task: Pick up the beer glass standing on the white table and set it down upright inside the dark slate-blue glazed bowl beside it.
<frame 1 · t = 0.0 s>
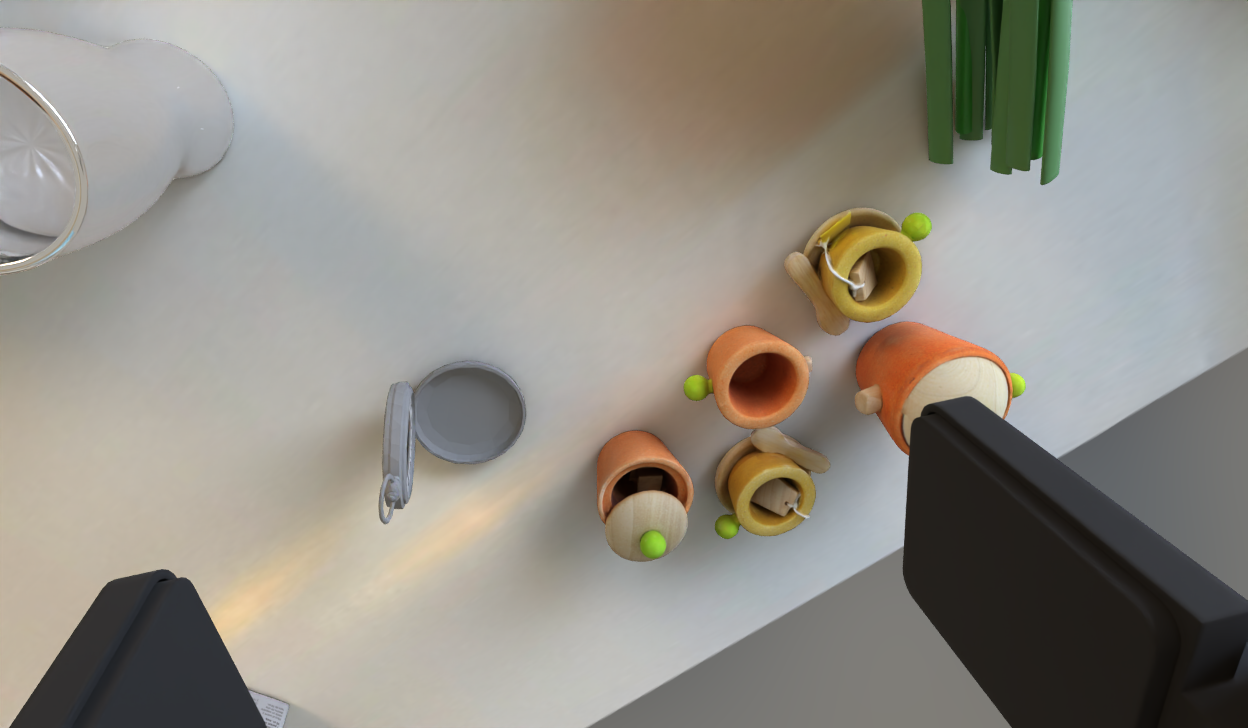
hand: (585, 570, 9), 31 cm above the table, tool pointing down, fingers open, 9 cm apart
pocket watch: (448, 403, 42), on the table
coffee box: (215, 727, 49), on the table
toy tea set: (772, 395, 46), on the table
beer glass: (165, 110, 34), on the table
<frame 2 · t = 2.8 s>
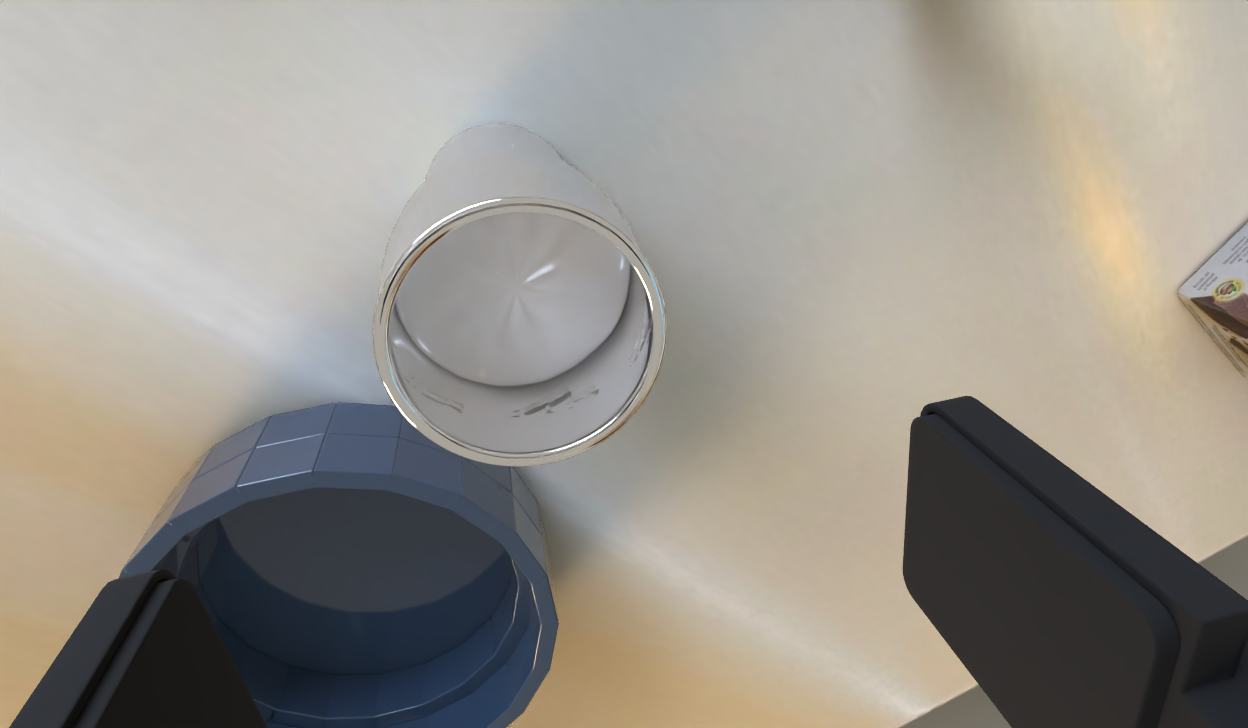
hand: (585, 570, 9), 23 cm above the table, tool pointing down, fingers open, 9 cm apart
bowl: (364, 556, 35), on the table
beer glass: (500, 199, 30), on the table
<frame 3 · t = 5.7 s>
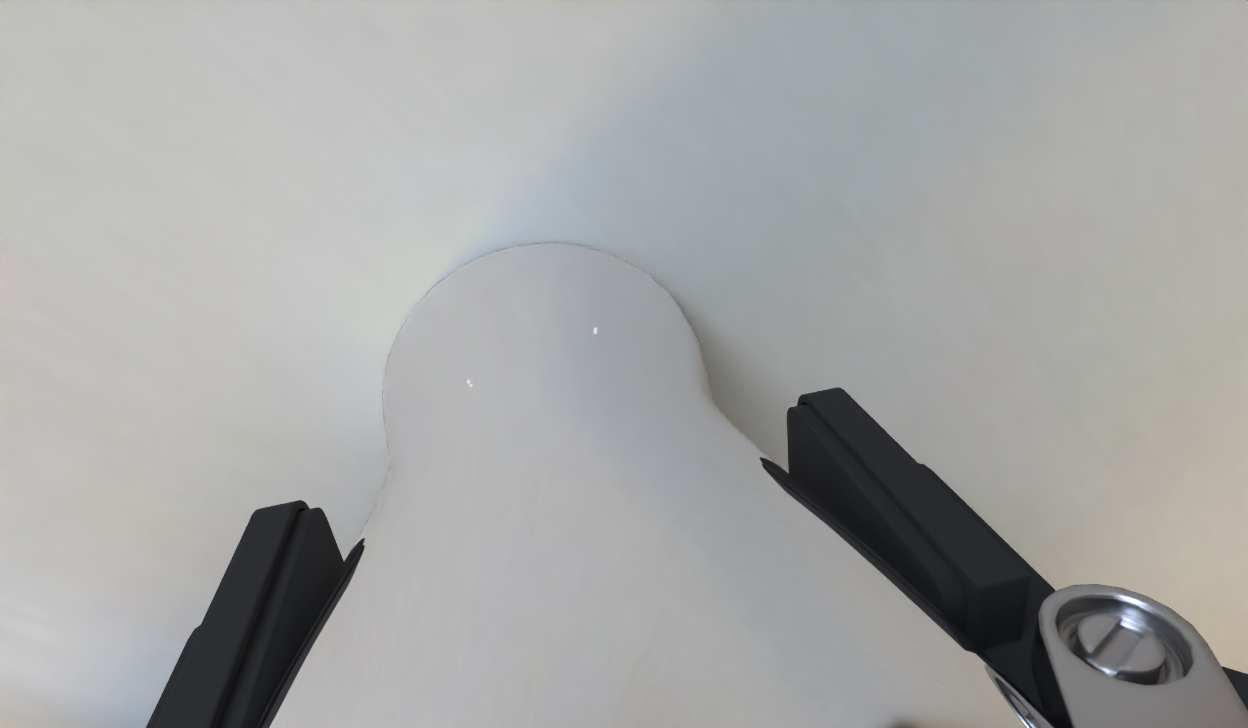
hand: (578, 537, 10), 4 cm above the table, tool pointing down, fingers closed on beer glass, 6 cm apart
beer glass: (547, 388, 14), on the table, touching gripper
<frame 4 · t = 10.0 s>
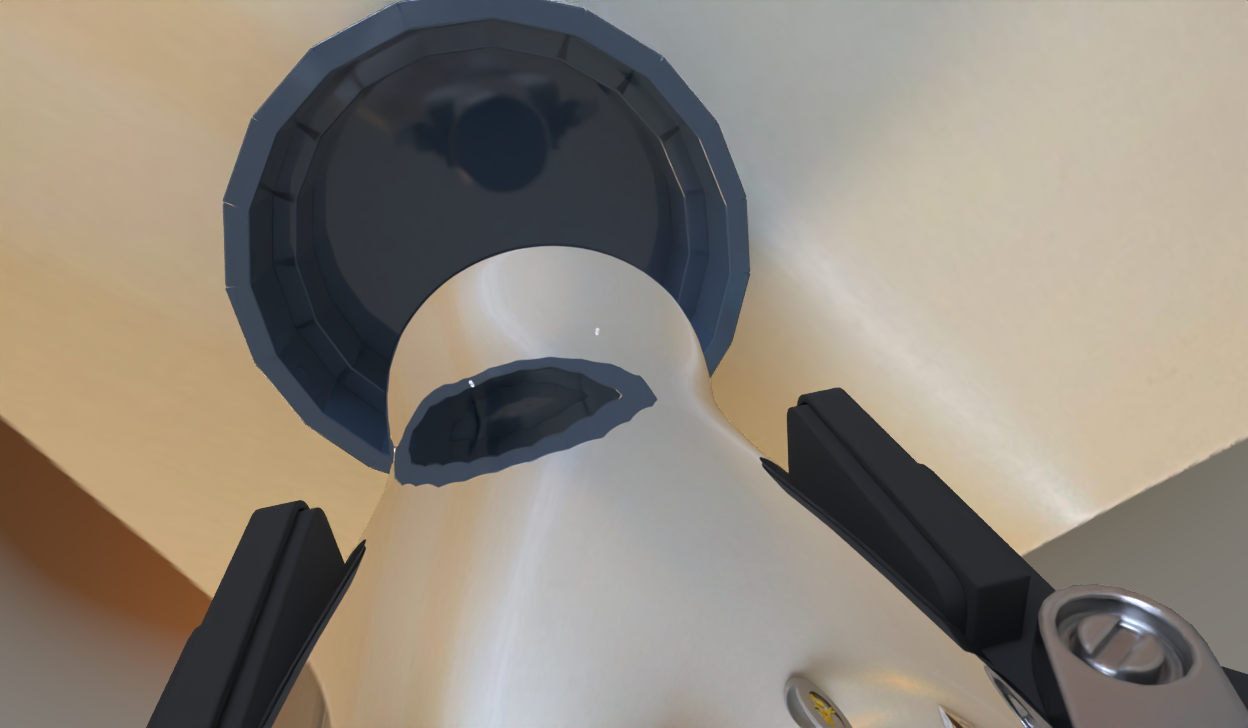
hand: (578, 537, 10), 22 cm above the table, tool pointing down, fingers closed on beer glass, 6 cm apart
bowl: (499, 235, 30), on the table
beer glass: (549, 388, 14), point 17 cm above the table, touching gripper
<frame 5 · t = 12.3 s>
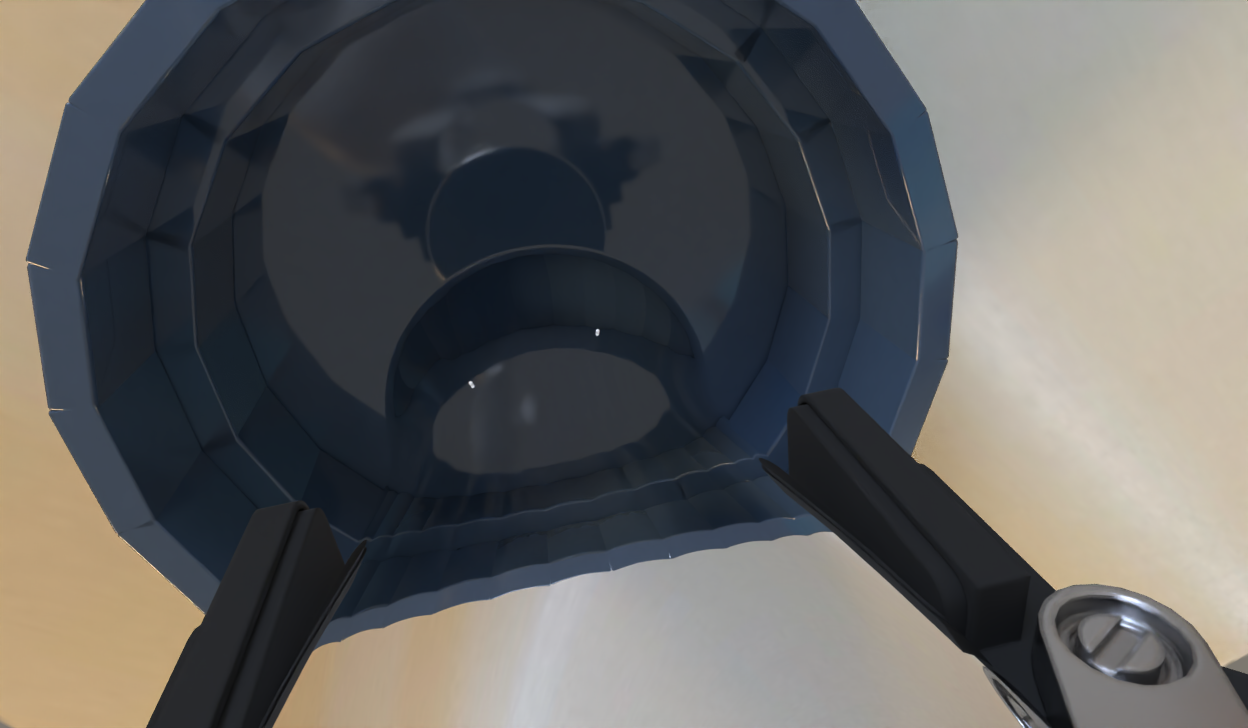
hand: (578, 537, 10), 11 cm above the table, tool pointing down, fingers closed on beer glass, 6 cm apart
bowl: (528, 286, 20), on the table
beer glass: (549, 389, 14), point 6 cm above the table, touching gripper
when the fingers open (5 cm above the table, at t = 14.2 s): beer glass stays where it is, resting on bowl.
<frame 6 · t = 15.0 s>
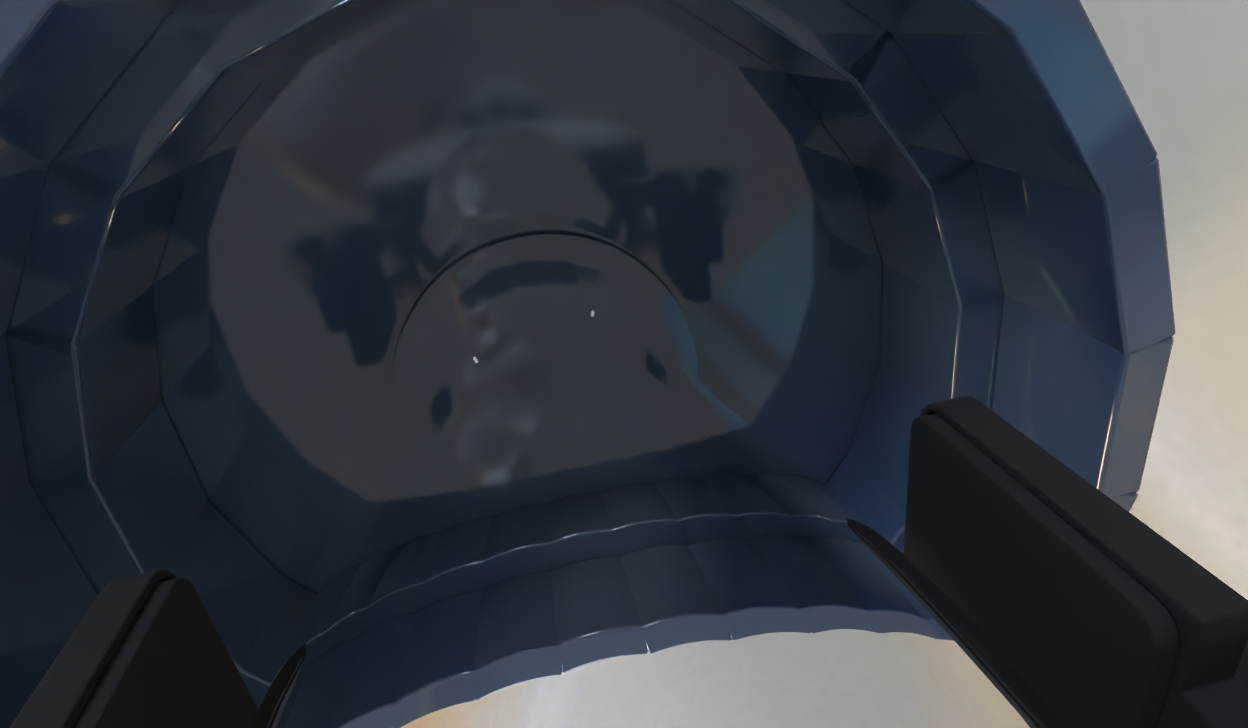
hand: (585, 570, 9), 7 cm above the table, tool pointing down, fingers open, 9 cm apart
bowl: (548, 366, 15), on the table
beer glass: (547, 373, 15), resting on bowl
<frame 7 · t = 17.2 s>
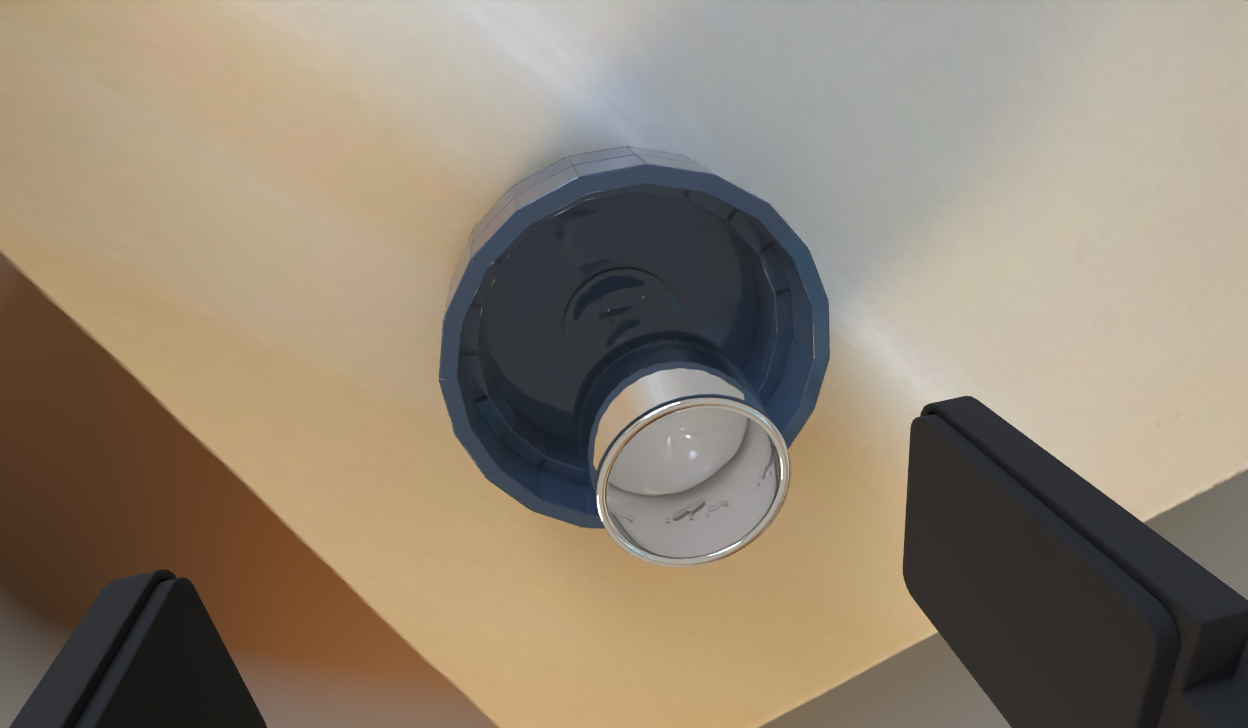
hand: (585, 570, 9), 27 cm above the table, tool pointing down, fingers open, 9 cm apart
bowl: (621, 321, 37), on the table
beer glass: (621, 323, 37), resting on bowl
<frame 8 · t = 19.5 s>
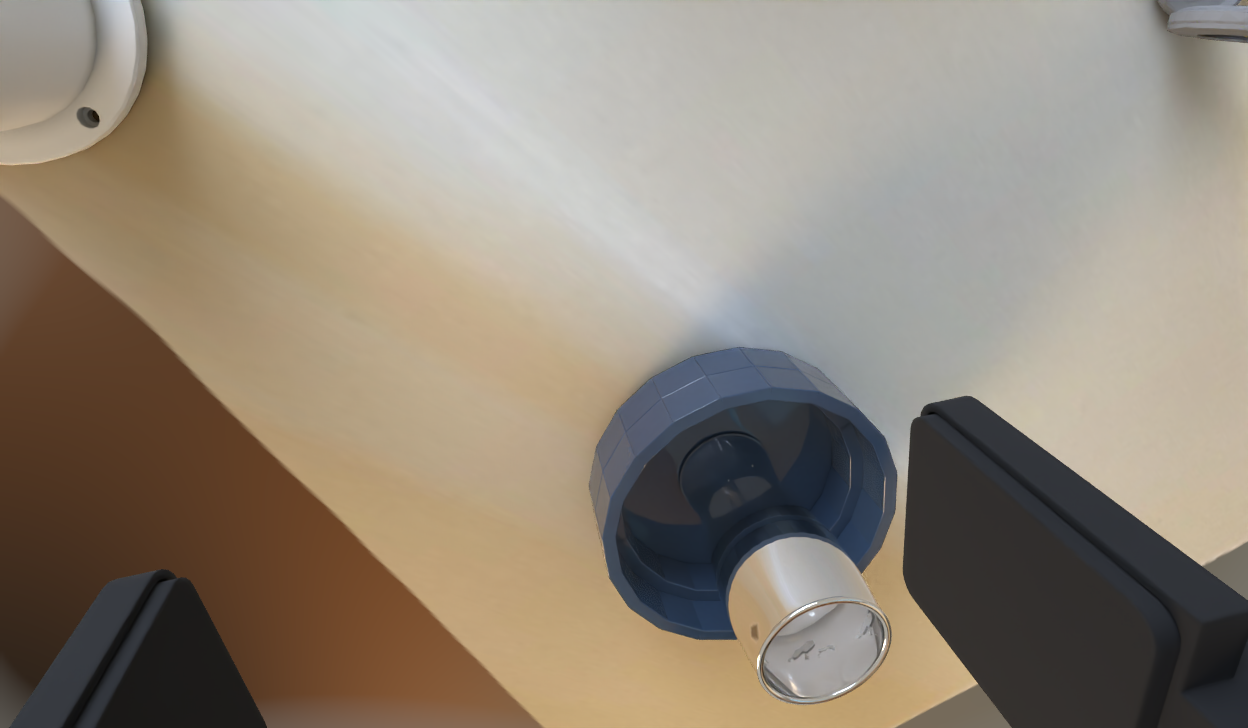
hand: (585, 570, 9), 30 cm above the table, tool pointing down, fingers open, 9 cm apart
bowl: (722, 468, 47), on the table
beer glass: (724, 471, 46), resting on bowl
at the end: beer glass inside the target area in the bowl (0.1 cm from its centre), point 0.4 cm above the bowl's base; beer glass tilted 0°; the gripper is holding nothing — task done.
